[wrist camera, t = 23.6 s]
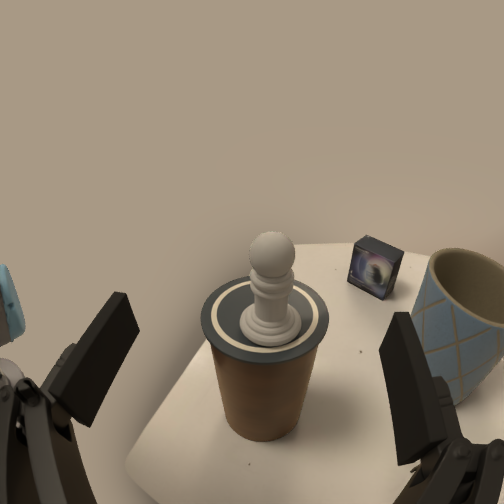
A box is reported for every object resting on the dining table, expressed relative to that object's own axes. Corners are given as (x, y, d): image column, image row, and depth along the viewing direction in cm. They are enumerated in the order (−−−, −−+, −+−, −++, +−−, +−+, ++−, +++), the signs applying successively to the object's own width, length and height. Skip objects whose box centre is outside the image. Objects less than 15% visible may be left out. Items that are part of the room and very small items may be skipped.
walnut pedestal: (230, 447, 30) (211, 369, 20) (221, 385, 40) (203, 286, 30) (308, 432, 32) (341, 346, 22) (289, 374, 41) (301, 274, 31)
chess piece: (291, 356, 21) (302, 259, 16) (229, 338, 22) (220, 244, 18) (307, 313, 25) (317, 224, 20) (253, 300, 27) (251, 214, 22)
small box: (345, 281, 62) (352, 242, 57) (358, 271, 66) (366, 233, 61) (382, 302, 55) (394, 261, 50) (394, 288, 59) (405, 250, 54)
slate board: (205, 374, 20) (204, 371, 19) (199, 284, 30) (198, 280, 30) (348, 349, 21) (350, 345, 21) (304, 271, 32) (304, 268, 31)
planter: (416, 321, 49) (447, 236, 39) (483, 363, 36) (531, 281, 26) (368, 375, 40) (408, 279, 29) (450, 433, 26) (527, 351, 16)
